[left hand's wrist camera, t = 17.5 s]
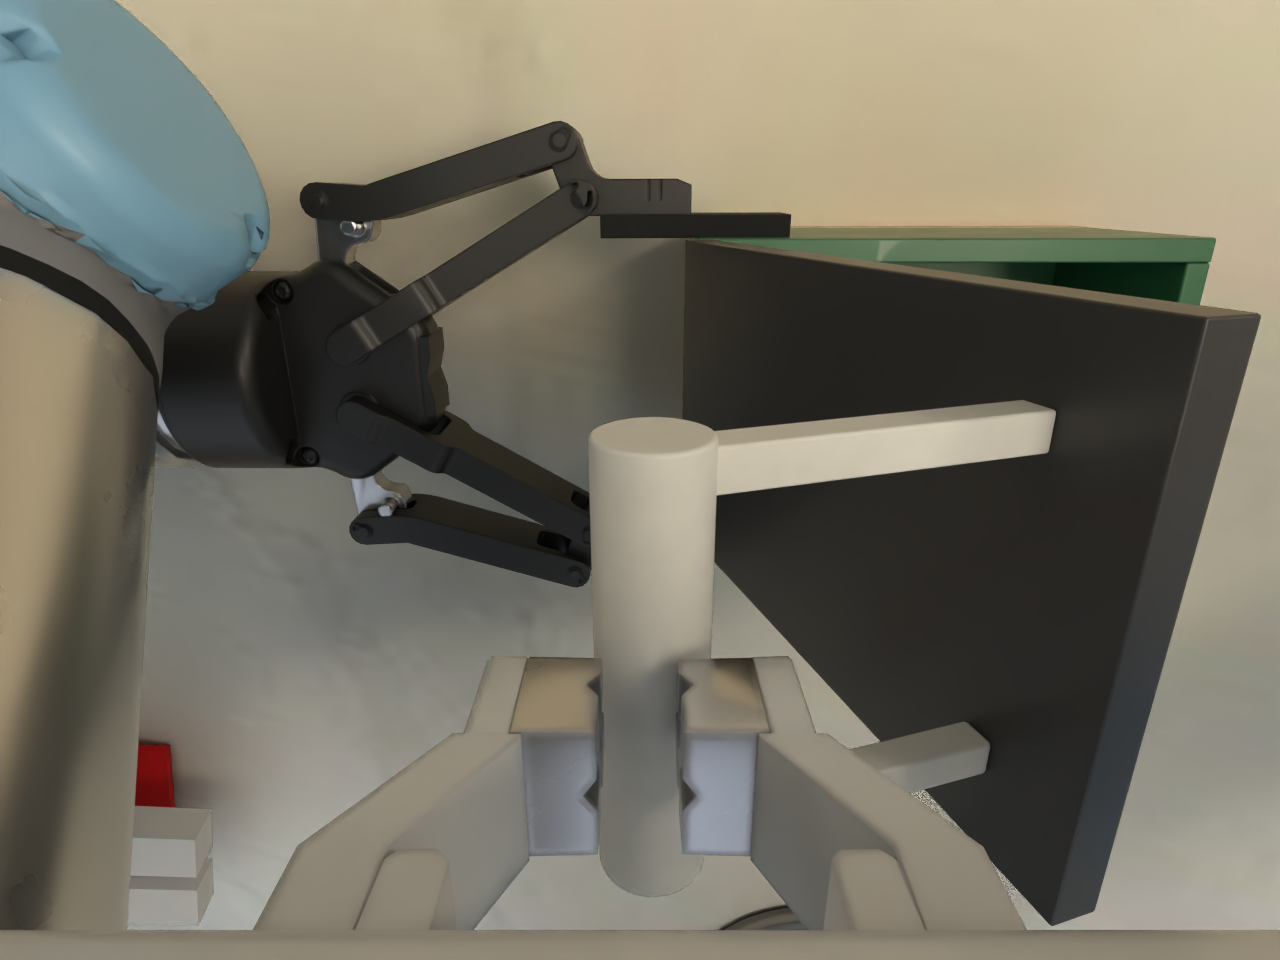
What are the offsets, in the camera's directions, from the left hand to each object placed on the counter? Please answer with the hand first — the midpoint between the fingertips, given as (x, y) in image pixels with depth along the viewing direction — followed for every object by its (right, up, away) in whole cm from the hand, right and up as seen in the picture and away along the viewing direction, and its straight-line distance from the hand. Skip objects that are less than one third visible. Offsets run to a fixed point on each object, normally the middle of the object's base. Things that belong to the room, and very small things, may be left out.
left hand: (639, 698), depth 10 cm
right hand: (+5, +7, +19) cm, 21 cm away
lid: (+5, +3, +9) cm, 10 cm away
